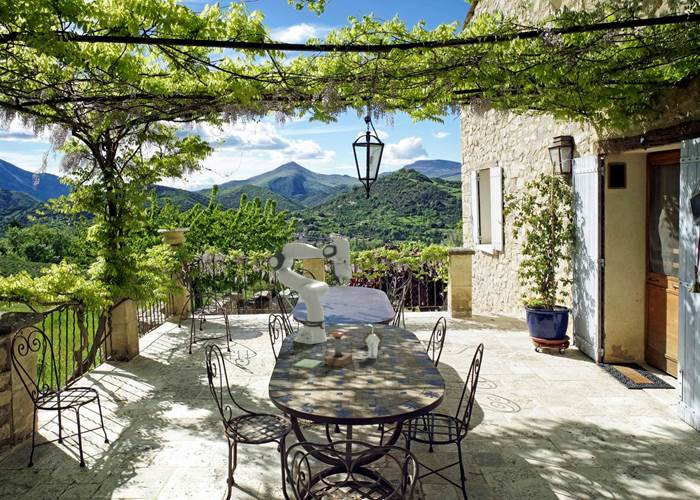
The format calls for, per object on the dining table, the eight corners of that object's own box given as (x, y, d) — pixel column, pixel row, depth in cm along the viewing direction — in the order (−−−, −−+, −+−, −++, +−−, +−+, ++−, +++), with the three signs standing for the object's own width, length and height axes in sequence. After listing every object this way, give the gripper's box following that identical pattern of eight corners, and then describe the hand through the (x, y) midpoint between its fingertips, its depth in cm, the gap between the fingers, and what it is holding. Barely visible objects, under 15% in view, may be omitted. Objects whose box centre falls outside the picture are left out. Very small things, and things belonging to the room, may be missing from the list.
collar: (324, 364, 301) (324, 357, 301) (334, 358, 312) (334, 352, 311) (343, 367, 296) (342, 360, 295) (352, 360, 306) (352, 354, 306)
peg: (331, 363, 302) (330, 334, 301) (336, 360, 308) (335, 331, 306) (341, 365, 300) (340, 335, 298) (346, 361, 305) (345, 332, 304)
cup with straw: (376, 360, 307) (375, 326, 305) (362, 358, 311) (361, 324, 309) (382, 356, 314) (381, 323, 312) (369, 354, 319) (368, 321, 317)
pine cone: (383, 343, 341) (383, 328, 340) (384, 347, 331) (384, 332, 330) (349, 344, 341) (349, 329, 340) (349, 348, 332) (348, 333, 331)
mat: (293, 366, 300) (293, 364, 300) (304, 360, 310) (304, 358, 310) (311, 368, 294) (311, 367, 294) (322, 362, 305) (322, 361, 305)
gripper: (345, 265, 349) (345, 286, 346) (332, 260, 330) (333, 282, 328) (353, 264, 347) (354, 285, 344) (341, 259, 328) (342, 281, 325)
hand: (344, 284), depth 336 cm, fingers open, 8 cm apart
